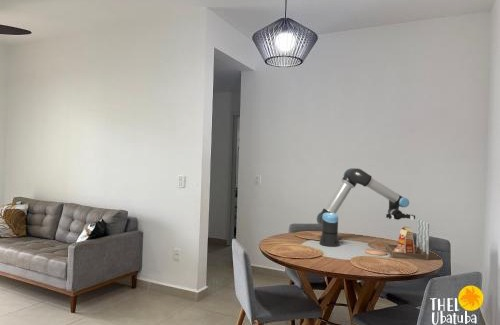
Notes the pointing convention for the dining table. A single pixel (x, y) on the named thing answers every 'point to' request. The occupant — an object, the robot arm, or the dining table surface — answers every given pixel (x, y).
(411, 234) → the milk carton
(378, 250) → the tan round dome
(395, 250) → the peach rounded knob
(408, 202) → the robot arm
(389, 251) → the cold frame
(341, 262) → the dining table surface
